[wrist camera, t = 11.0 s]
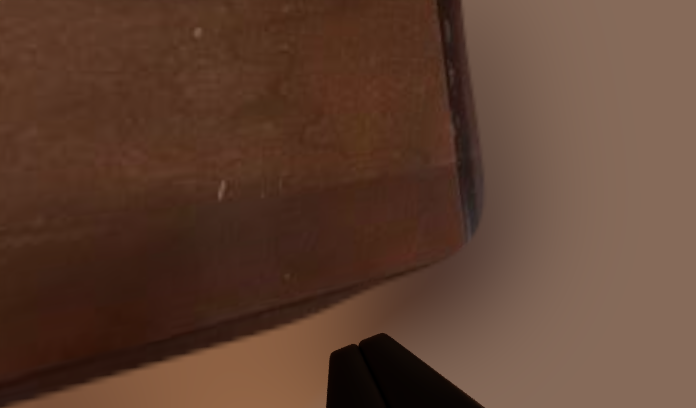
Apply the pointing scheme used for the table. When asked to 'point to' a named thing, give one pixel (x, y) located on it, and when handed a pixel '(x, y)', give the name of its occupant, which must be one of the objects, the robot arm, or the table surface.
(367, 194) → the table surface
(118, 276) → the table surface
